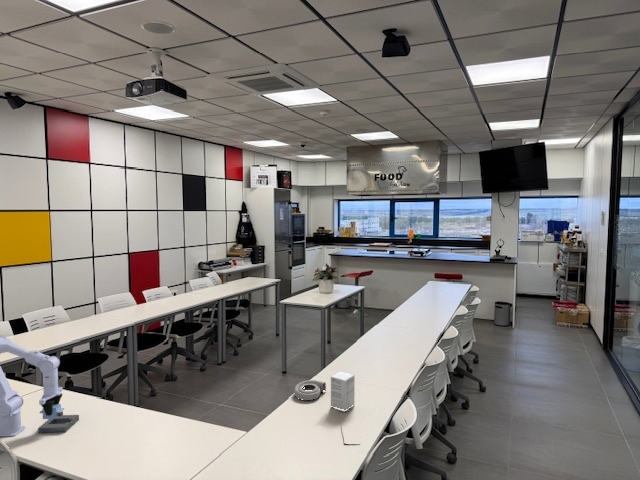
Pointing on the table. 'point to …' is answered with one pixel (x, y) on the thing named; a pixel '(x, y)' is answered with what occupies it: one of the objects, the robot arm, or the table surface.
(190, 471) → the table surface
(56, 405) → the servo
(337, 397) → the supplement box
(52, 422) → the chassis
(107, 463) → the table surface
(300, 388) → the turbocharger housing
